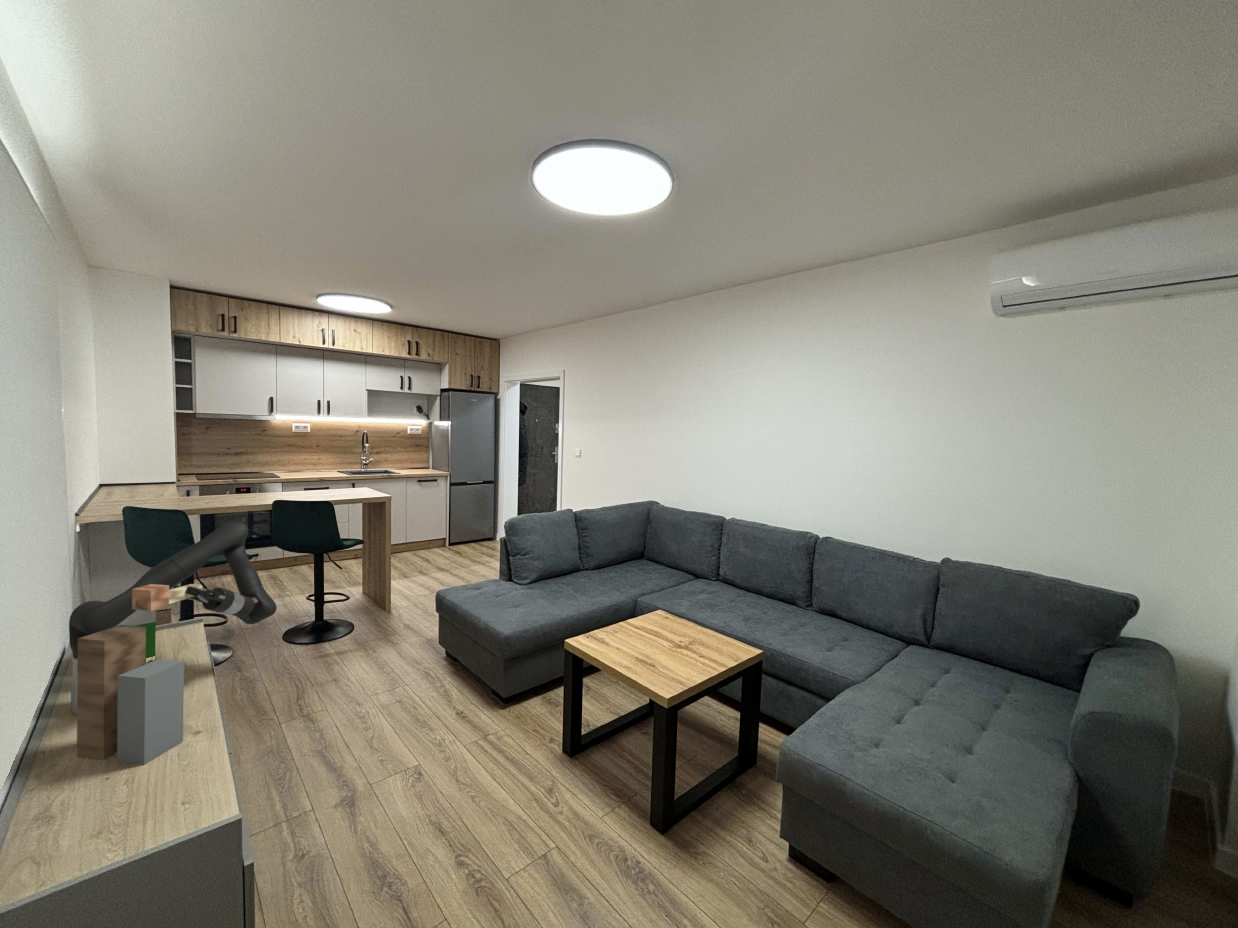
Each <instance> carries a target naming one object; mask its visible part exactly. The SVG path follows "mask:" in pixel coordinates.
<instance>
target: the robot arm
mask: <svg viewBox="0 0 1238 928" xmlns="http://www.w3.org/2000/svg"><path fill="white" fill-rule="evenodd" d="M248 536H249V529H248V526H247V525H246V524H245V523H244V522H241V521H228V522H225V523H224V524H222V525H221V526H219V527H218V528H216V529H215V530H213V531H212V532H211V533H209V534H208V535H207V536H205V537H204V538H202V539H201V540H199V541H198V542H195V543H193V544H191V545H190V546H188V547H185V548H184V549H182V550H181V551H179V552H177V553H175V554H173V555H171V556H170V557H168V558H166V559H164V560H162V561H161V562H158V564H156V565H154V566H153V567H151V568H150V569H148V570H147V571H146V572H145V573H144V574H143V575H142V576H141V577H140V578H139V579H138V580H137V581H136V582H135V583H134V584H133V585H132V586H131V587H129V588H128V589H126V590H125V591H123V592H122V593H120V594H118V595H115V597H113V598H111V599H108V600H106V601H107V602H104V601H101V600H89V601H86V602H83V603H81V604H80V605H78V606H76V608H74V609H73V611H72V612H71V614H70V616H69V620H68V621H69V622H68V632H69V634H68V636H69V638H68V639H69V646H70V649H71V652H72V679H71V680H70V710H72V712H71V713H72V714H74V715H77V666H78V638H81V637H84V636H87V635H91V634H94V633H97V632H100V631H103V630H106V629H110V628H113V627H115V626H117V625H118V624H119V623H121V622H122V621H123V620H125V619H126V618H127V617H129V616H130V615H131V614H133V613H134V612H135V611H137V610H132V589H134V588H138V587H142V586H146V585H150V584H155V585H169V590H171V589H175V588H179V587H182V585H181V586H180V585H179V584H181V583H182V582H184V581H185V580H187V579H188V578H190V577H192V576H193V575H194V574H195V573H196V572H198V571H199V570H201V568H203V567H204V566H205V565H206V564H207V563H208V562H209V561H210V560H211V559H213V558H214V557H215V556H217V555H218V554H219V553H221V554H222V555H223V556H224V559H225V560H226V561H227V564H228V566H229V568H230V570H231V574H232V575H233V579H234V581H235V584H236V586H237V589H238V592H236V591H233V590H231V589H226V588H223V587H215V588H212V589H208V588H207V589H206V588H202V589H198V588H194V587H190V586H188V587H187V589H186V591H185V593H186V594H189V595H193V596H194V597H191V598H187V599H186V600H191V601H194V602H197V603H200V604H201V603H202V606H203V608H204V609H205V610H206V611H210V612H213V613H214V612H215V613H217V614H224V615H229V616H233V617H236V618H238V619H239V620H241V621H242V622H243V623H245V624H246V625H256V624H258V623H260V622H262V621H264V620H266V619H268V618H270V617H271V616H273V615H275V614H276V612H277V608H278V607H277V603H276V602H275V600H274V599H273V598H272V597H271V596H270V595H269V593H268V592H267V591H266V589H265V588H264V586H263V584H262V581H261V578H260V576H259V574H258V572H257V570H256V568H255V567H254V565H253V564H252V563H251V560H250V559H249V556H248V554H247V551H246V550H247V549H246V545H245V544H246V543H245V542H246V540H247V537H248ZM254 599H255V600H257V601H256V602H255V600H254Z"/></svg>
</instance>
